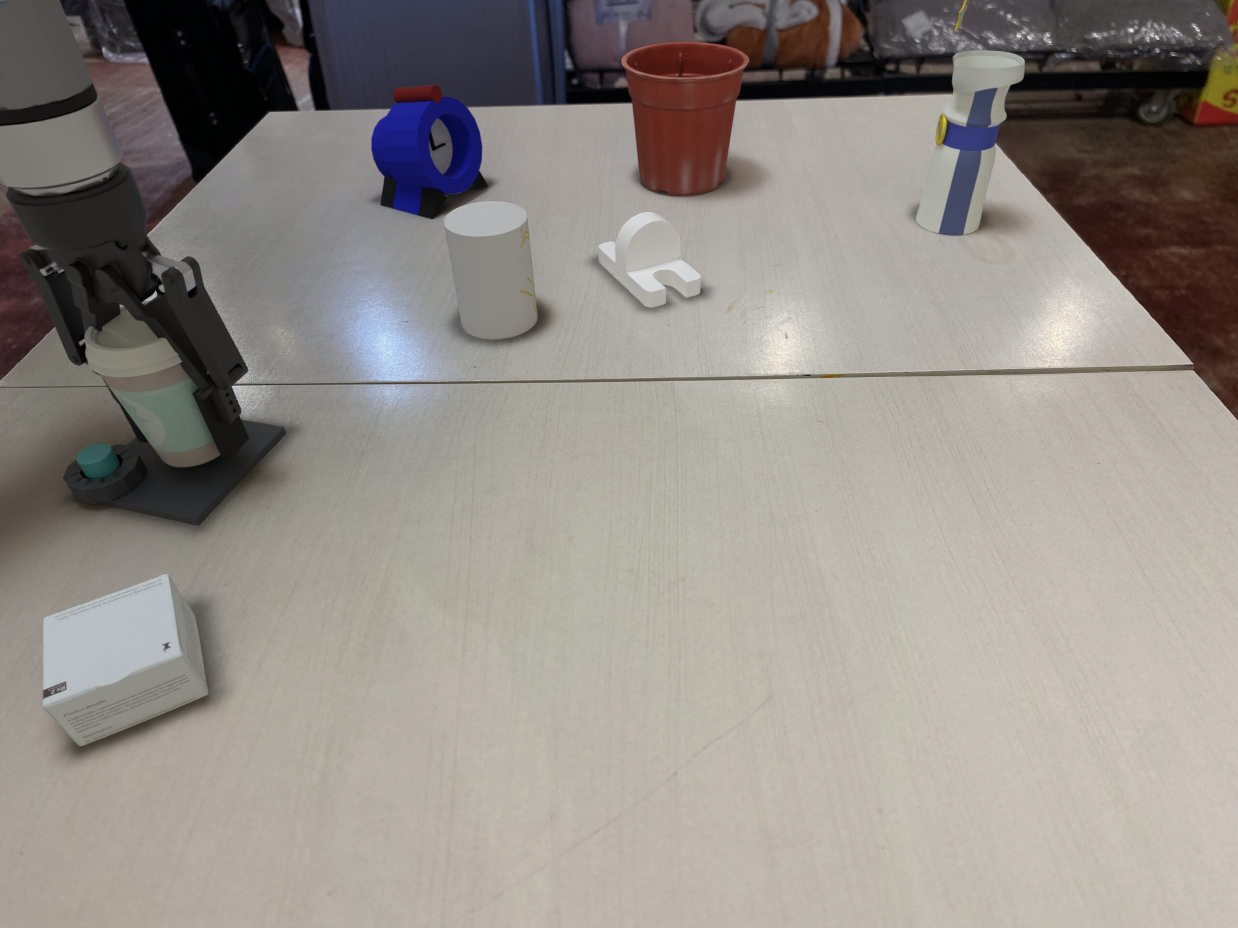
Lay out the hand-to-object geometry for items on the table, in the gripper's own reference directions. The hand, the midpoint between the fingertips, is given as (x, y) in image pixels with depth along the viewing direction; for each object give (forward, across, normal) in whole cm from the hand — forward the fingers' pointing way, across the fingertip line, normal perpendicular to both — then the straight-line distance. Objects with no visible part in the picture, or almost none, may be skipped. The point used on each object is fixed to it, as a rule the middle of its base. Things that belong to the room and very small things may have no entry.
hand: (194, 439), depth 68 cm
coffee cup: (+1, 0, 0) cm, 1 cm away
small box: (+3, -10, +20) cm, 23 cm away
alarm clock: (+3, +7, -58) cm, 58 cm away
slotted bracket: (+3, -29, -41) cm, 50 cm away
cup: (+3, -16, -28) cm, 32 cm away
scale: (+3, +1, +1) cm, 3 cm away
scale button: (0, +5, +5) cm, 7 cm away
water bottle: (+3, -62, -65) cm, 90 cm away
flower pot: (+3, -26, -71) cm, 76 cm away
